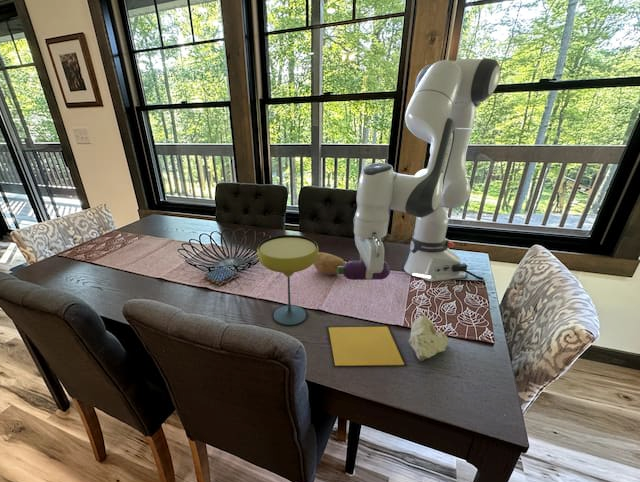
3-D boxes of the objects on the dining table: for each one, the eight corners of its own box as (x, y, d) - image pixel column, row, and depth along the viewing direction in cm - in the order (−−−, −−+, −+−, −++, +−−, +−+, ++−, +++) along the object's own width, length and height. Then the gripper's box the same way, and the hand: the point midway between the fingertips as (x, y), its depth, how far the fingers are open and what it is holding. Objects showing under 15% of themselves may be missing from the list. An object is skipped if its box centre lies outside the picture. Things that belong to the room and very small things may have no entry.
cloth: (387, 326, 96) (387, 326, 96) (404, 365, 81) (404, 364, 81) (328, 327, 96) (328, 327, 96) (335, 366, 82) (335, 365, 82)
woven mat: (219, 286, 122) (218, 282, 121) (203, 278, 128) (202, 274, 127) (239, 276, 128) (239, 272, 127) (223, 269, 135) (223, 265, 134)
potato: (338, 282, 121) (339, 264, 117) (307, 273, 129) (307, 255, 125) (349, 272, 128) (350, 254, 124) (319, 264, 135) (320, 247, 132)
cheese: (422, 335, 94) (390, 314, 89) (445, 325, 90) (412, 303, 84) (435, 384, 84) (399, 364, 78) (461, 375, 79) (425, 354, 74)
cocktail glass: (315, 334, 94) (316, 260, 82) (256, 330, 97) (249, 257, 85) (318, 301, 109) (320, 235, 98) (268, 298, 113) (264, 233, 101)
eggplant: (385, 273, 94) (388, 256, 91) (391, 282, 89) (393, 265, 86) (335, 274, 95) (336, 257, 92) (338, 283, 90) (339, 266, 87)
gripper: (393, 241, 75) (386, 290, 81) (373, 215, 93) (369, 257, 100) (367, 241, 75) (361, 290, 82) (352, 215, 93) (349, 257, 100)
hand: (365, 271), depth 91 cm, fingers closed on eggplant, 5 cm apart
